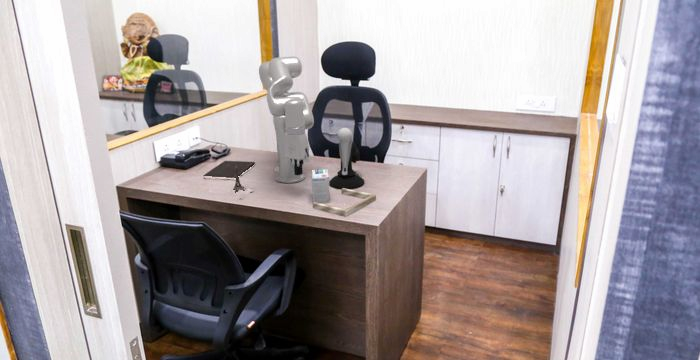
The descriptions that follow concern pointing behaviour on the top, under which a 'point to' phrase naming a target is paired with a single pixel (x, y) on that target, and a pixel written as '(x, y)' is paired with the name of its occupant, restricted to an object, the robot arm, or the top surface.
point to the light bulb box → (320, 186)
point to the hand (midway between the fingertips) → (298, 174)
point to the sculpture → (347, 163)
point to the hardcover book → (229, 169)
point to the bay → (345, 212)
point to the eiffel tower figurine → (237, 183)
